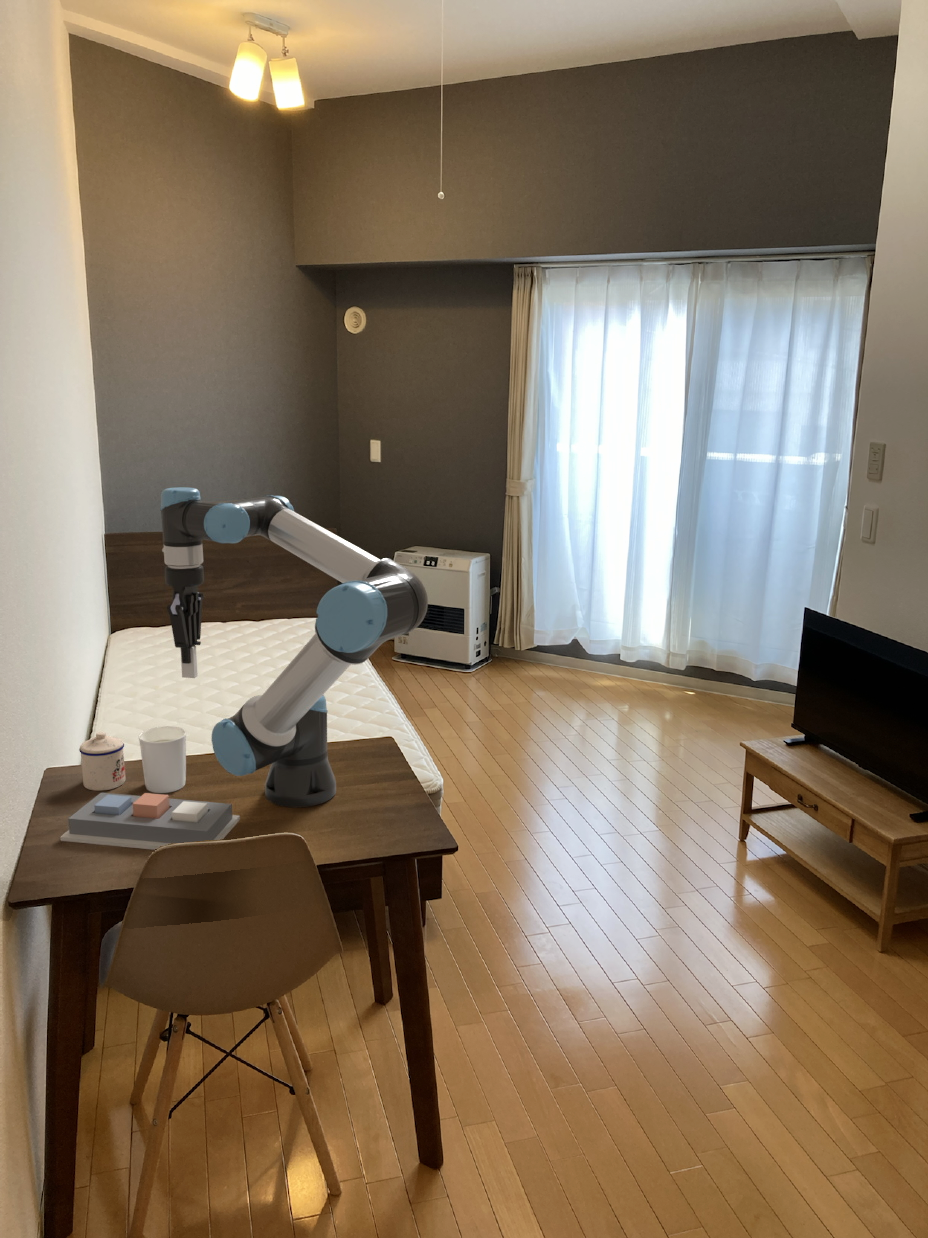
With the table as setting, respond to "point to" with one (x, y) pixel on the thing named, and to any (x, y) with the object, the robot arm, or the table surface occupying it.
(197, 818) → the white key
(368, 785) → the table surface
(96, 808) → the blue key
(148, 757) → the candle holder
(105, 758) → the teacup with lid
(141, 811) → the terracotta key
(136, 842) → the key console
